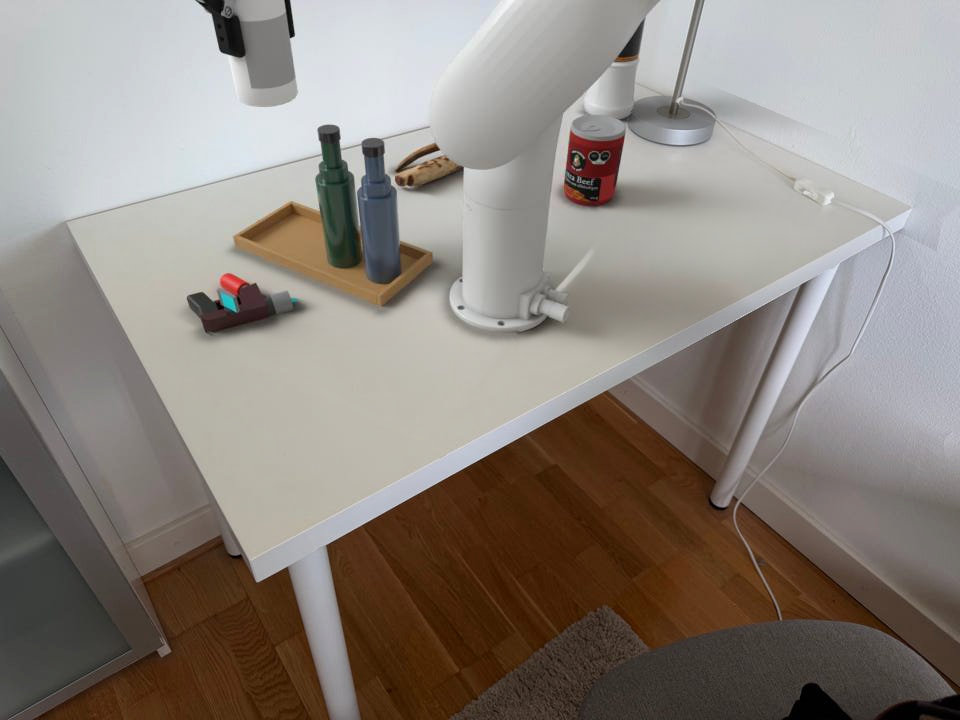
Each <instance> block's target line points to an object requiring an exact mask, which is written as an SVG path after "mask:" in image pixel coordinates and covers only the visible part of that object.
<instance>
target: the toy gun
mask: <svg viewBox="0 0 960 720" xmlns="http://www.w3.org/2000/svg"><path fill="white" fill-rule="evenodd" d="M219 284H220V287H221V288H220V287H218V288H217V289H216V292H217V296H218V299H216V300H212V299H211V298H210V297H209V296H208V295H207V294H206V293H205V292H203V291H199V292H195V293H191V294H187V296H186V301H187V304H188V307H189V309H190V310H191V311H192V312H193V313H194V314H195V315H196V316H197V317H198V318H199V319H200V322H201V325H202V326H203V330H204V333H205V334H209V335H212V334H213V333H217V332H220V331H225V330H227V329H232V328H234V327H238V326H242V325H246V324H249V323H254V322H258V321H261V320H264V319H269V318H270V316H272V315H275V316H276V315H281V314H284V313H288V312H291V311H294V304H293V303H295V302H296V301H297V300H299V299H300V298H299V297H291V295H290V292H289V291H288V290H284V291H281V292H277V293H272V294H269V296H267V297H263V294H262V292H261V290H260V288H259V285H258V284H257V282H254V283H250V282H248V281H246V280H244V279H243V278H240V277H239V276H237V275H236V274H233V273H231V272H228V273H224V274H223V275H222V276H221V277H220V279H219Z"/></svg>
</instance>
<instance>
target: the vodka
mask: <svg viewBox="0 0 960 720" xmlns="http://www.w3.org/2000/svg"><path fill="white" fill-rule="evenodd" d="M646 18H647V16H646V17H645V18H644V19H643V20H642V22H641V23H640V25H639V26H638V28H637V29H636V31H635V33H634V34H633V36H632V37H631V39H630V40H629V41H628V43H627V44H626V46H625V47H624V48H623V50H622V51H621V53H620V54H619V55H618V57H617V58H616V59H615V61H614V62H613V63H612V64H611V65H610V67H609V68H608V69H607V70H606V71H605V72H604V73H603V75H602V76H601V77H600V78H599V79H598V80H597V81H596V82H595V83H594V84H593V85H592V86H591V87H590V88H589V89H588V90H587V91H586V92H585V95H584V99H583V108H584V111H585V112H586V113H587V115H605V116H610V117H613V118H616V119H618V120H620V121H621V120H623V119H626V118H629V116H631V114H632V113H633V111H632V112H631V110H632V108H633V109H634V107H633V106H635V87H636V86H635V84H636V77H637V76H636V75H637V70H638V65H639V63H640V52H641V47H642V41H643V35H644V30H645V24H646Z"/></svg>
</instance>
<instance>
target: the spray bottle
mask: <svg viewBox="0 0 960 720" xmlns="http://www.w3.org/2000/svg"><path fill="white" fill-rule="evenodd" d="M233 15H235V16H238V18H239V20H240V26H241V31H242V36H243V41H244V47H245V52H246V54H245V56H244V57H242V58H238V57H234V56H231V55H227V59H228V63H229V68H230V73H231V77H232V82H233V86H234V90H235V97H236V98H237V100H238V101H239V102H240V103H241V104H244V105H246V106H250V107H257V108H269V107H276V106H277V107H278V106H282V105H285V104H287V103H290V102H292V101H294V100H296V97H297V96H298V93H299V89H298V83H297V78H296V77H297V76H296V71H295V64H294V58H293V57H294V56H293V49H292V44H291V38H290V36H289V29H288V22H287V15H286V9H285V2H284V0H235V1H234V9H233Z"/></svg>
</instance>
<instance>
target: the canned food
mask: <svg viewBox="0 0 960 720" xmlns="http://www.w3.org/2000/svg"><path fill="white" fill-rule="evenodd" d="M569 129H570V130H569V136H568V144H567V155H566V163H565V170H564V171H565V172H564V181H563V192H564V196H565V197H566V198H567V199H568V200H569V201H571V202H572V203H574V204H577V205H581V206H586V207H596V206H602V205H605V204H607V203H610V201H612V199H613V198H614V196H615V194H616V189H617V183H618V178H619V174H620V173H619V172H620V167H621V160H622V155H623V150H624V144H625V140H626V139H625V138H626V132H627V131H626V130H627V126H626V123H624V122H623V121H622V120H621V119H620V120H618V119H616V118H613V117H610V116H605V115H590V114H587V115H582V116H578V117H576V118H574V119H573V120H572V121H571V123H570V128H569Z"/></svg>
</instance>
